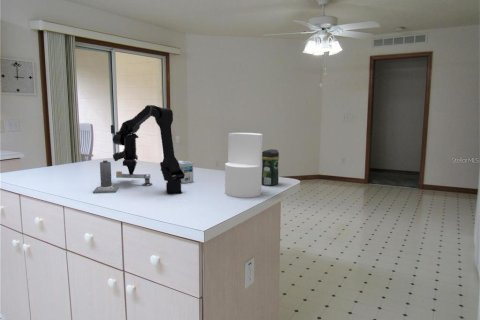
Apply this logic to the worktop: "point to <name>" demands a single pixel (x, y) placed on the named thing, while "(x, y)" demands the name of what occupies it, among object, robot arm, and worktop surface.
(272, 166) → the coffee jar
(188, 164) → the light bulb box
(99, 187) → the socket
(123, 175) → the bar
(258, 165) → the cylinder
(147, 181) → the grey flanged disc
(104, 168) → the plug
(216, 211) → the worktop surface
